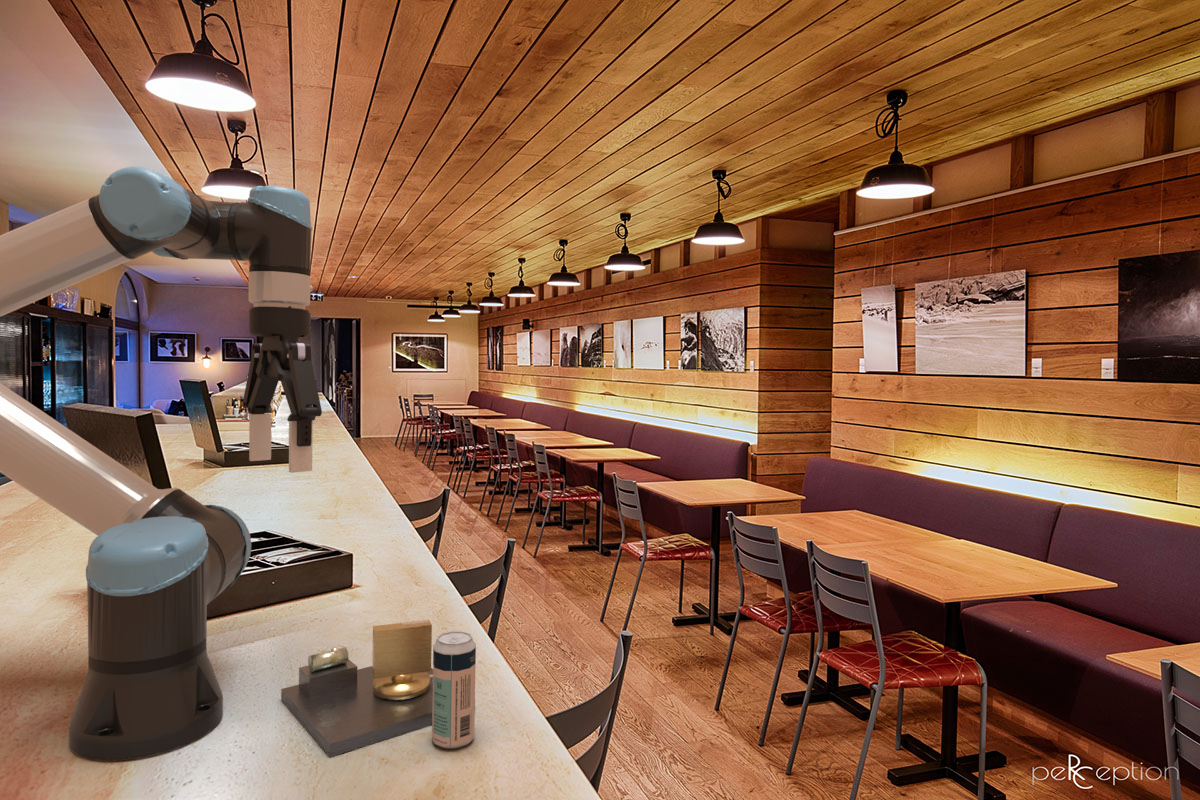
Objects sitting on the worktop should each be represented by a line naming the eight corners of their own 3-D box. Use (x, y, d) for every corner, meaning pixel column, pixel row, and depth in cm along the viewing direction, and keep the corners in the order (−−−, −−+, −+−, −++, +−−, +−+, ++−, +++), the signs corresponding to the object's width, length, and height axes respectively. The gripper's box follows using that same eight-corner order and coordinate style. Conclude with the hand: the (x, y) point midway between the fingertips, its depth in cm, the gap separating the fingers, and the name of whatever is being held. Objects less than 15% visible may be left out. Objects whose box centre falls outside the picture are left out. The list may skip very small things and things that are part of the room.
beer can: (477, 730, 86) (478, 630, 86) (471, 752, 81) (473, 645, 81) (435, 730, 86) (437, 629, 85) (427, 751, 81) (429, 645, 81)
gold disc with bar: (447, 692, 92) (448, 628, 92) (376, 703, 89) (376, 636, 88) (436, 671, 98) (437, 610, 98) (370, 680, 95) (370, 618, 95)
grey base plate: (329, 757, 79) (330, 701, 79) (281, 700, 92) (281, 651, 92) (474, 710, 91) (475, 661, 91) (413, 665, 104) (414, 622, 104)
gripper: (350, 305, 91) (348, 474, 92) (272, 312, 109) (271, 454, 110) (290, 300, 86) (289, 479, 87) (218, 308, 104) (218, 457, 105)
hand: (279, 465), depth 99 cm, fingers open, 13 cm apart
